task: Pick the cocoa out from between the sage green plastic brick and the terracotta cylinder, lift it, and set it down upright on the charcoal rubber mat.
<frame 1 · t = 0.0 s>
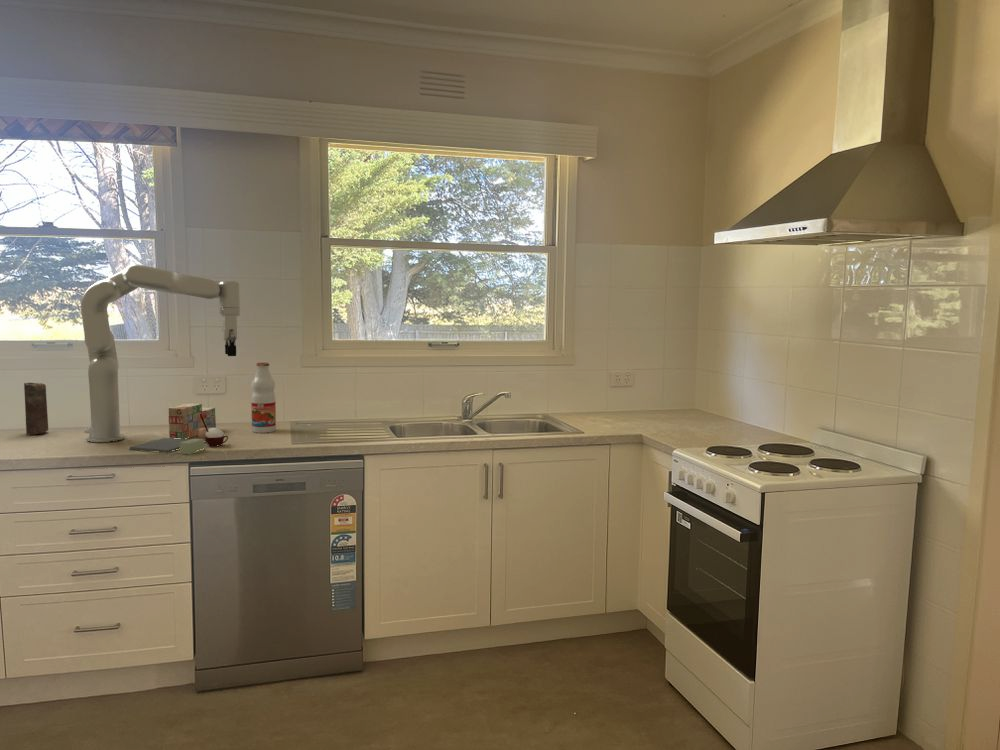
hand: (230, 355, 292), 31 cm above the worktop, tool pointing down, fingers open, 9 cm apart
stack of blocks: (193, 435, 290), on the worktop
terracotta cylinder: (205, 441, 277), on the worktop
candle: (37, 434, 285), on the worktop
mat: (166, 446, 266), on the worktop
green brick: (192, 451, 259), on the worktop
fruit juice: (263, 431, 299), on the worktop
cocoa: (214, 446, 269), on the worktop
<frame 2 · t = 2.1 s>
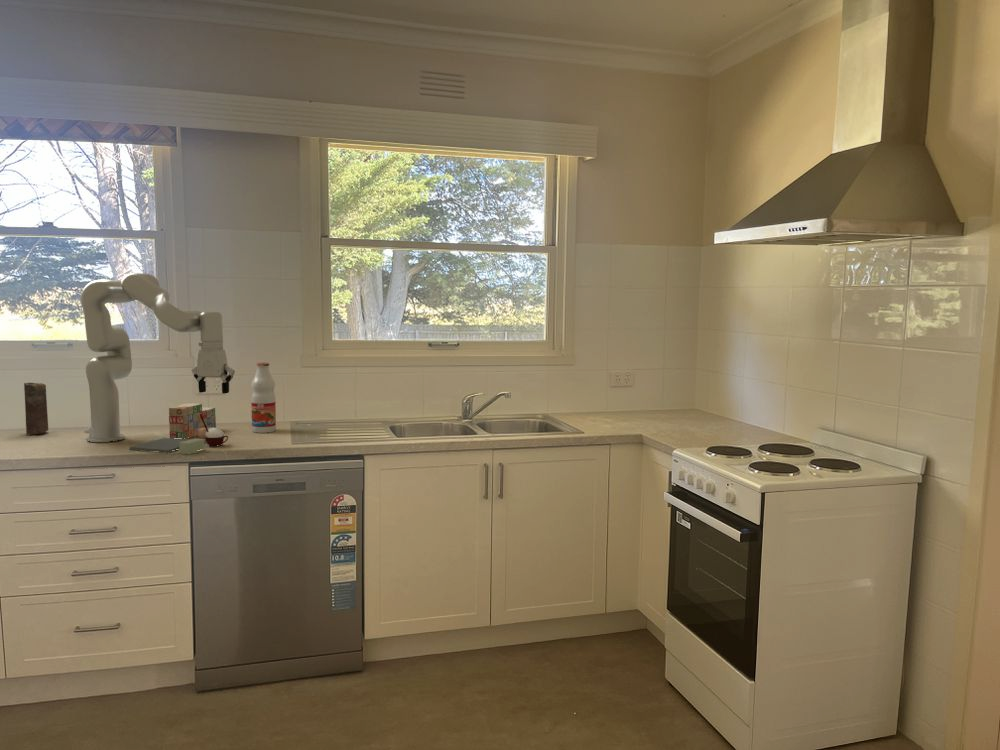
hand: (214, 392, 267), 20 cm above the worktop, tool pointing down, fingers open, 9 cm apart
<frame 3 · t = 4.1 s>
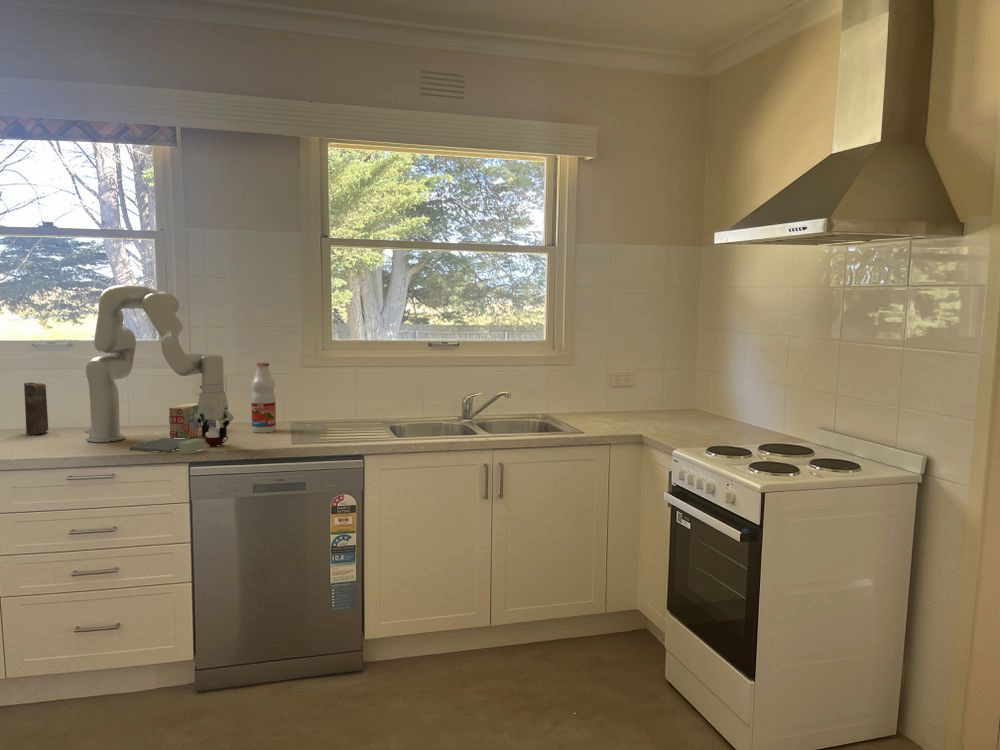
hand: (214, 436, 269), 3 cm above the worktop, tool pointing down, fingers closed on cocoa, 6 cm apart
cocoa: (214, 446, 269), on the worktop, touching gripper
everything else where it was.
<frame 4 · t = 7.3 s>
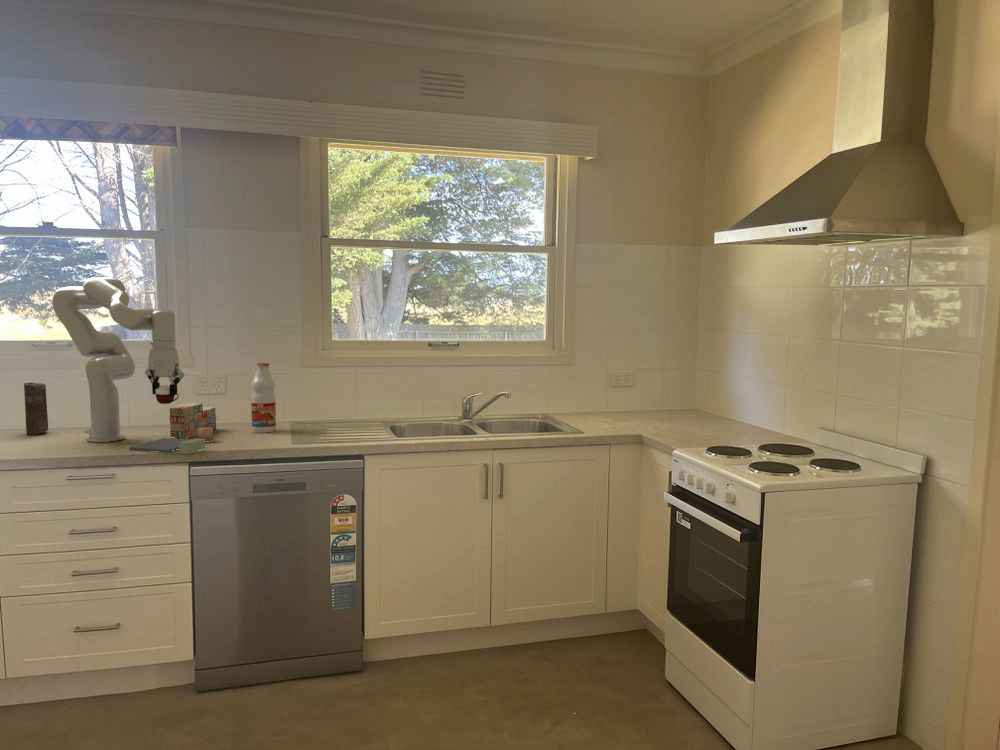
hand: (164, 394, 264), 19 cm above the worktop, tool pointing down, fingers closed on cocoa, 6 cm apart
cocoa: (164, 403, 265), point 16 cm above the worktop, touching gripper
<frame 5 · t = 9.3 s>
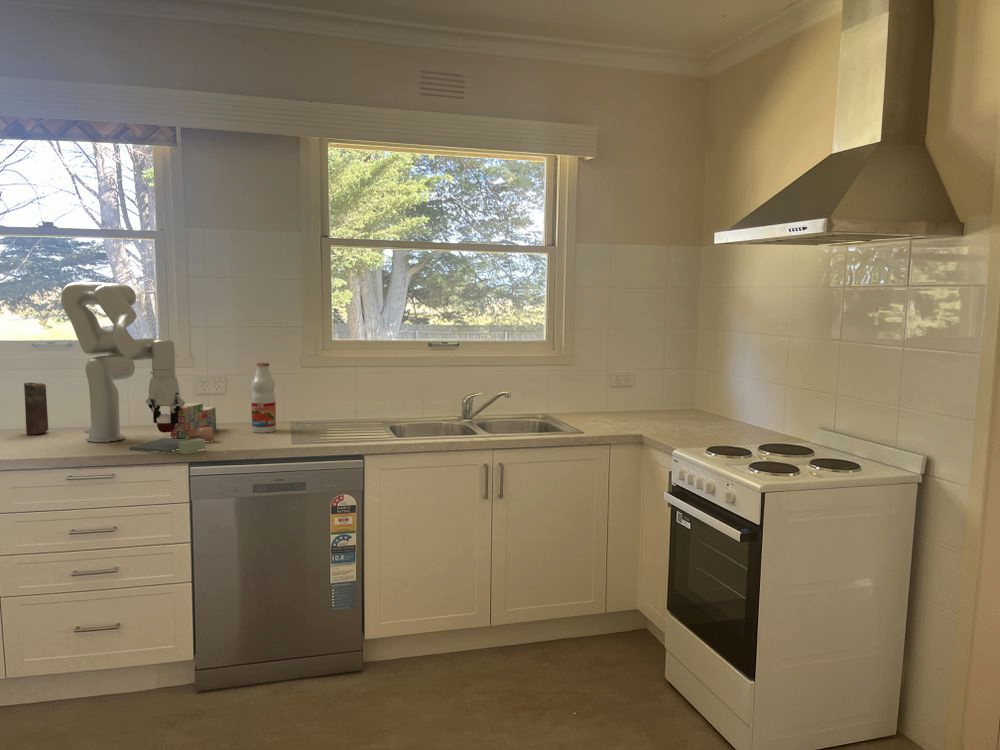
hand: (165, 422, 265), 9 cm above the worktop, tool pointing down, fingers closed on cocoa, 6 cm apart
cocoa: (165, 432, 265), point 5 cm above the worktop, touching gripper
when the fingers open (5 cm above the worktop, at t = 11.0 s): cocoa stays where it is, resting on mat.
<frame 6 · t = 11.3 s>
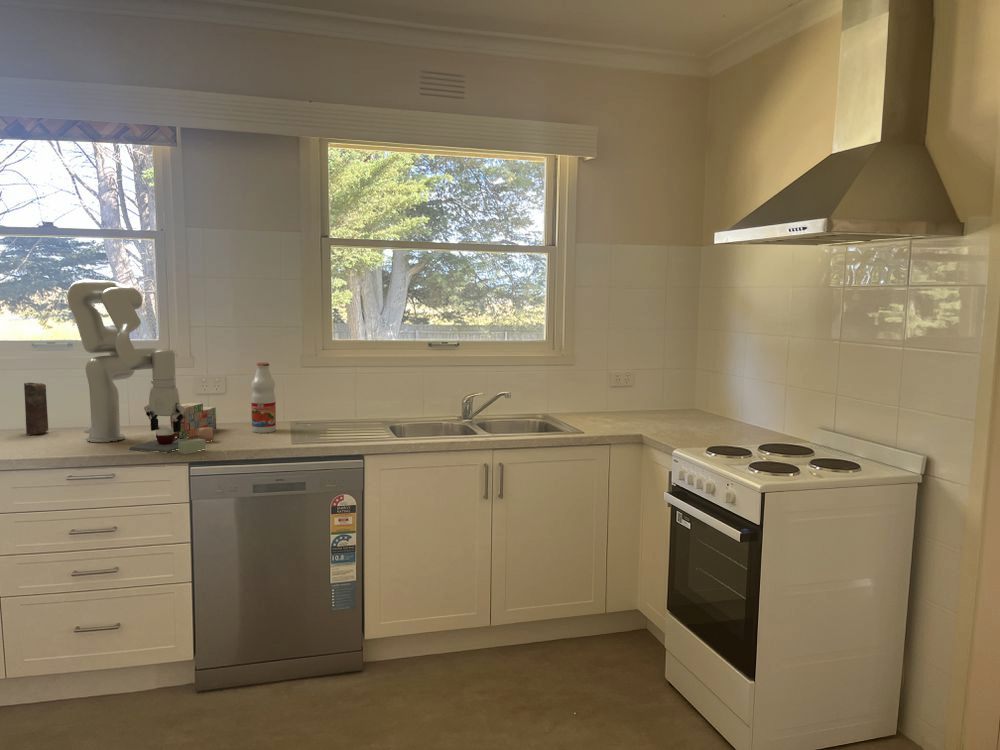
hand: (165, 430, 265), 6 cm above the worktop, tool pointing down, fingers open, 9 cm apart
cocoa: (164, 444, 266), point 1 cm above the worktop, touching mat
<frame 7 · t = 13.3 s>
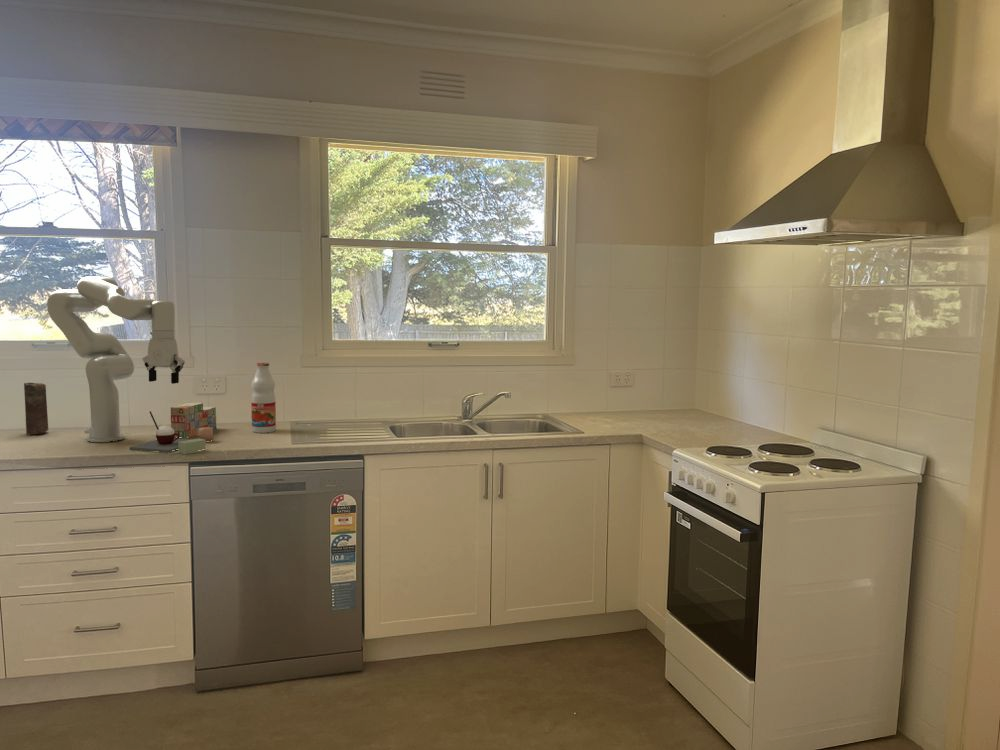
hand: (163, 382, 266), 23 cm above the worktop, tool pointing down, fingers open, 9 cm apart
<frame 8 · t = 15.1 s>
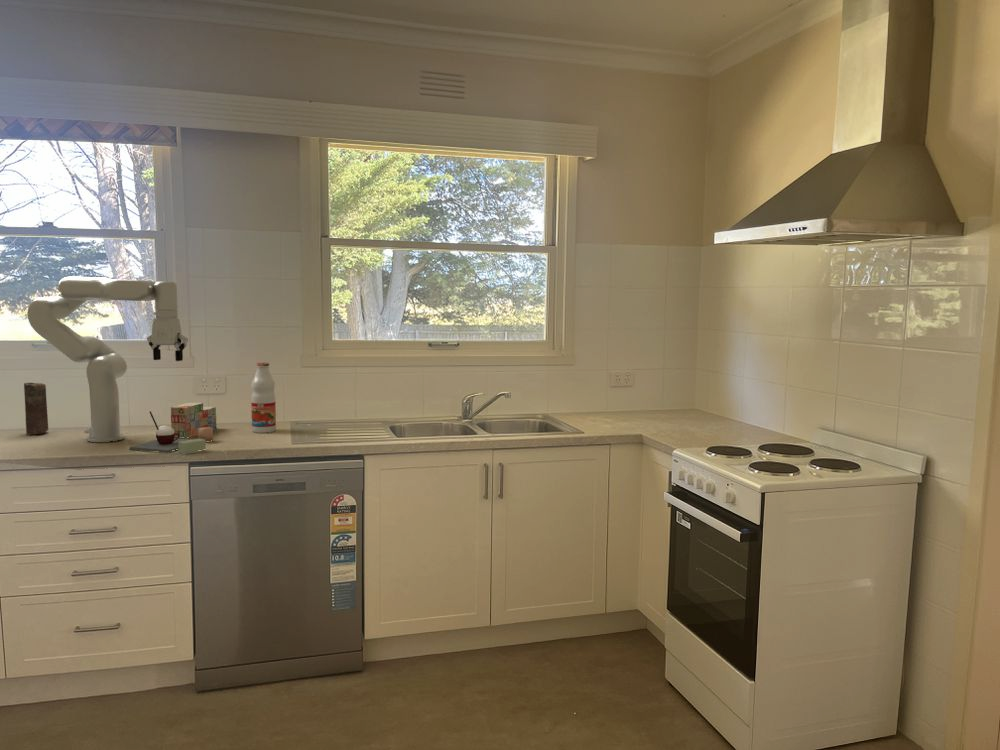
hand: (168, 360, 275), 30 cm above the worktop, tool pointing down, fingers open, 9 cm apart
at the end: cocoa inside the target area on the mat (0.6 cm from its centre), point 0.8 cm above the mat's base; cocoa tilted 0°; the gripper is holding nothing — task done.
